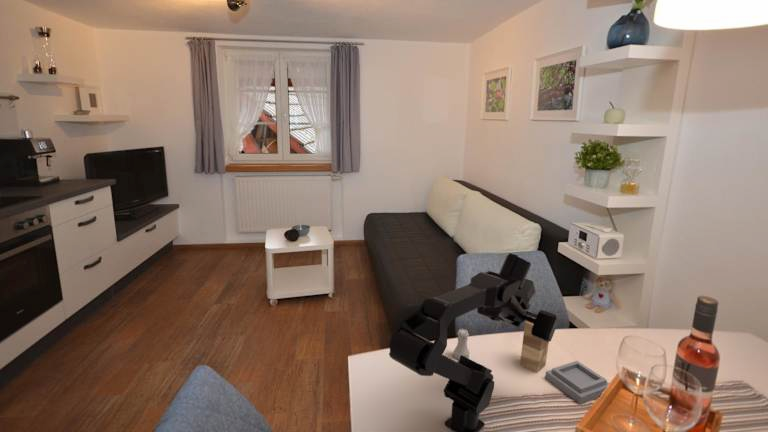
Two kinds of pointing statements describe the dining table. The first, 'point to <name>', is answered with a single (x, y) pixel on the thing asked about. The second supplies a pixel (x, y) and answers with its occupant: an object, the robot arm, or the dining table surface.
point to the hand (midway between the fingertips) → (525, 325)
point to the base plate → (577, 381)
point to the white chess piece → (461, 344)
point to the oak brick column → (533, 350)
